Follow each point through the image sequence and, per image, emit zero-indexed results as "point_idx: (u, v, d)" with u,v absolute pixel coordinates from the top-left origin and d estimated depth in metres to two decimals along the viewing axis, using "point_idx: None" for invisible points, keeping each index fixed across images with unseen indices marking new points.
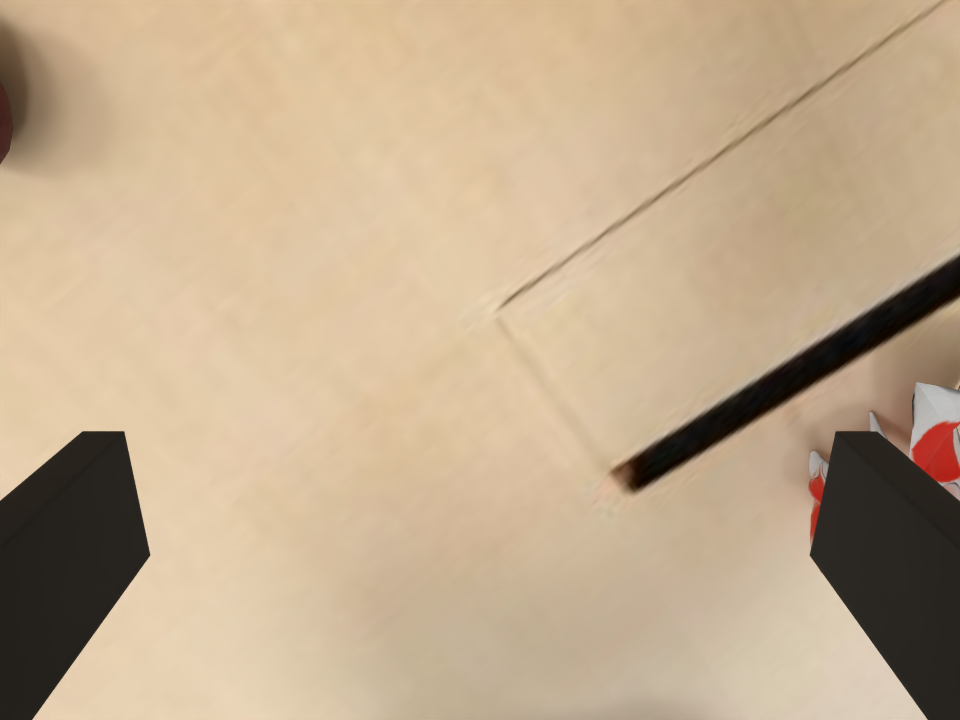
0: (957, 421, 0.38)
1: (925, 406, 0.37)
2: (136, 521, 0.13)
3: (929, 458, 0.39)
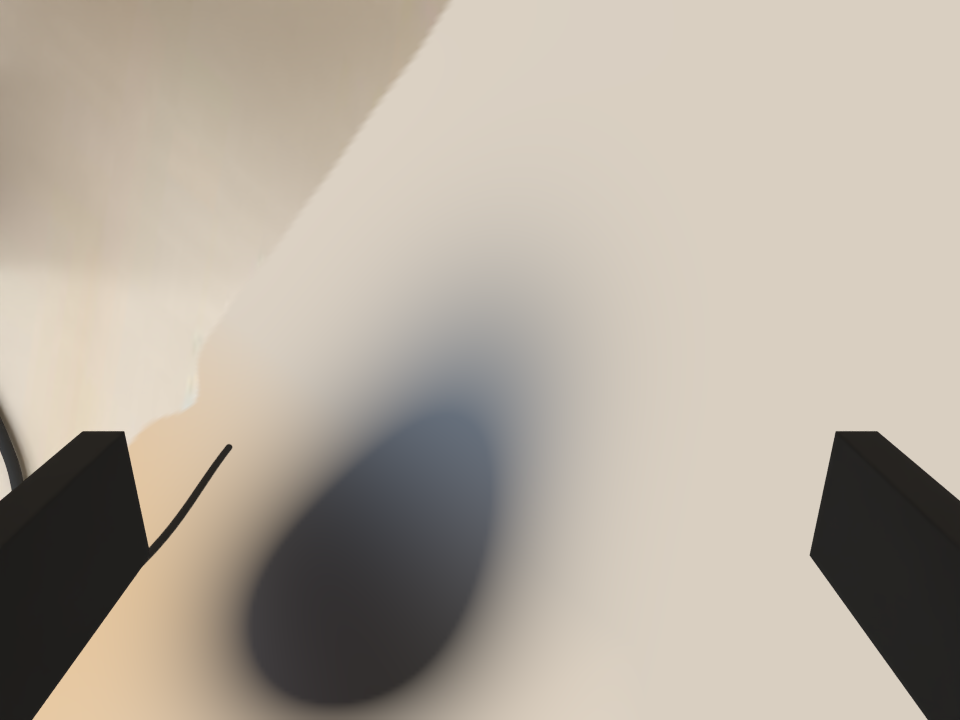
0: None
1: None
2: (136, 521, 0.13)
3: None
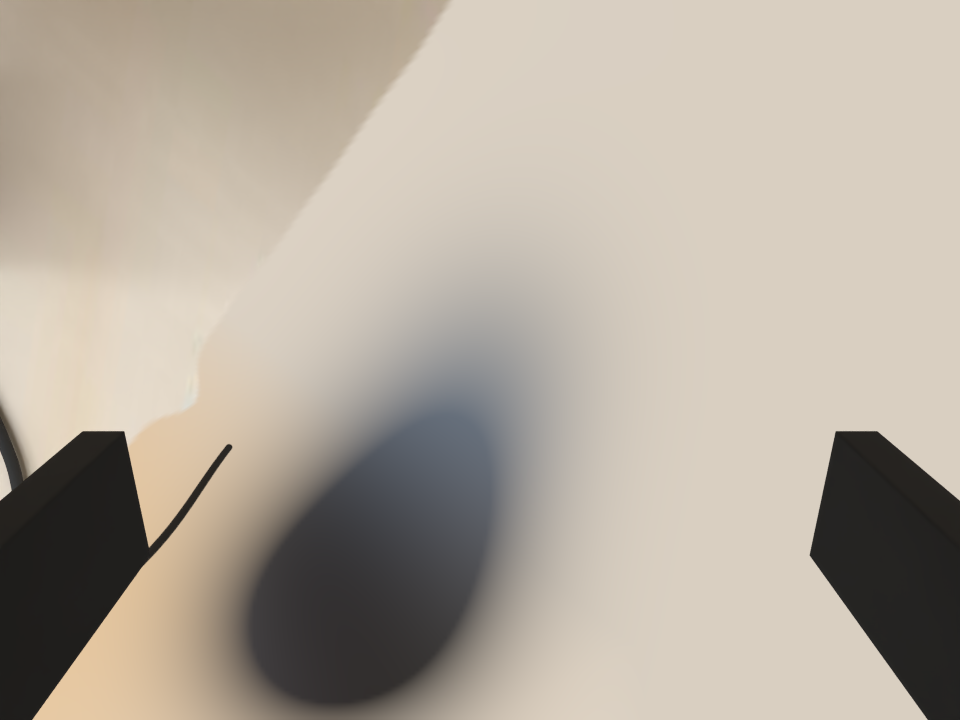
0: None
1: None
2: (136, 521, 0.13)
3: None
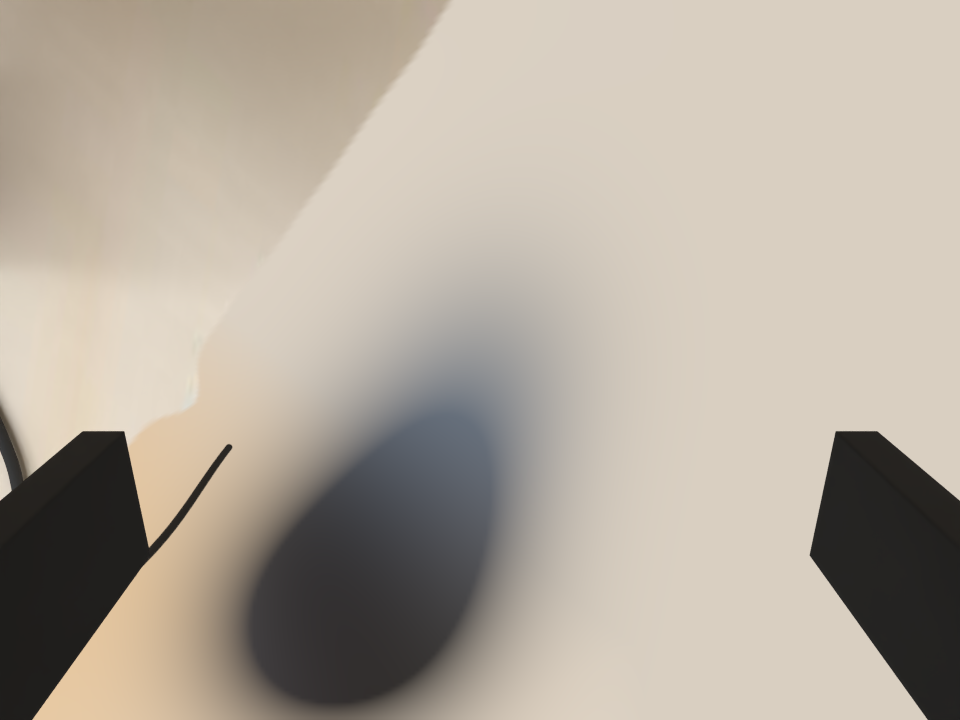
0: None
1: None
2: (136, 521, 0.13)
3: None
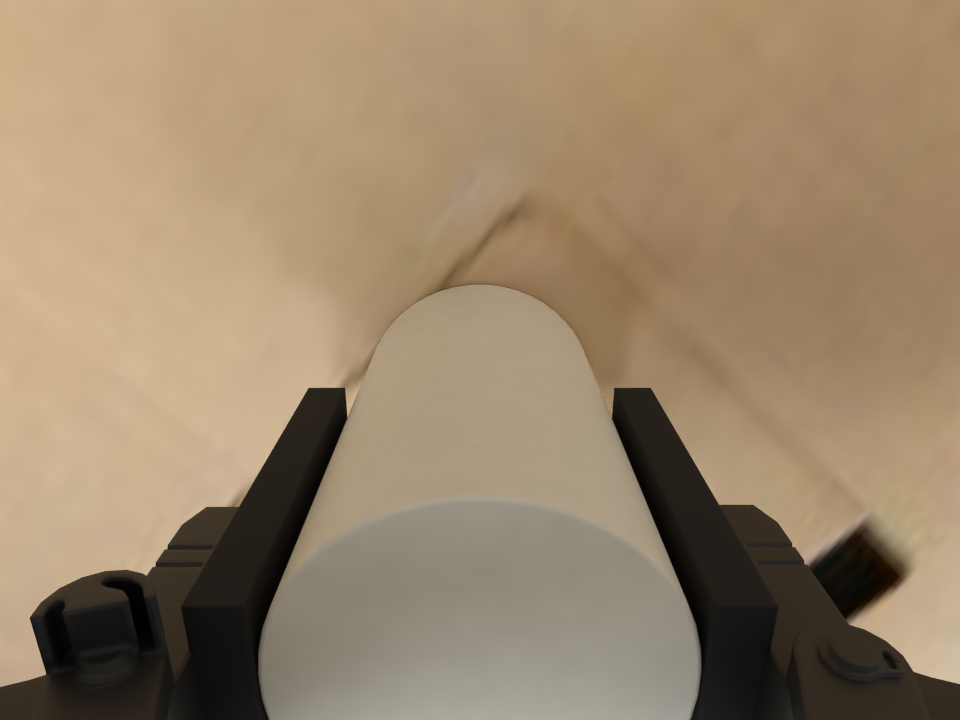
0: None
1: None
2: None
3: None
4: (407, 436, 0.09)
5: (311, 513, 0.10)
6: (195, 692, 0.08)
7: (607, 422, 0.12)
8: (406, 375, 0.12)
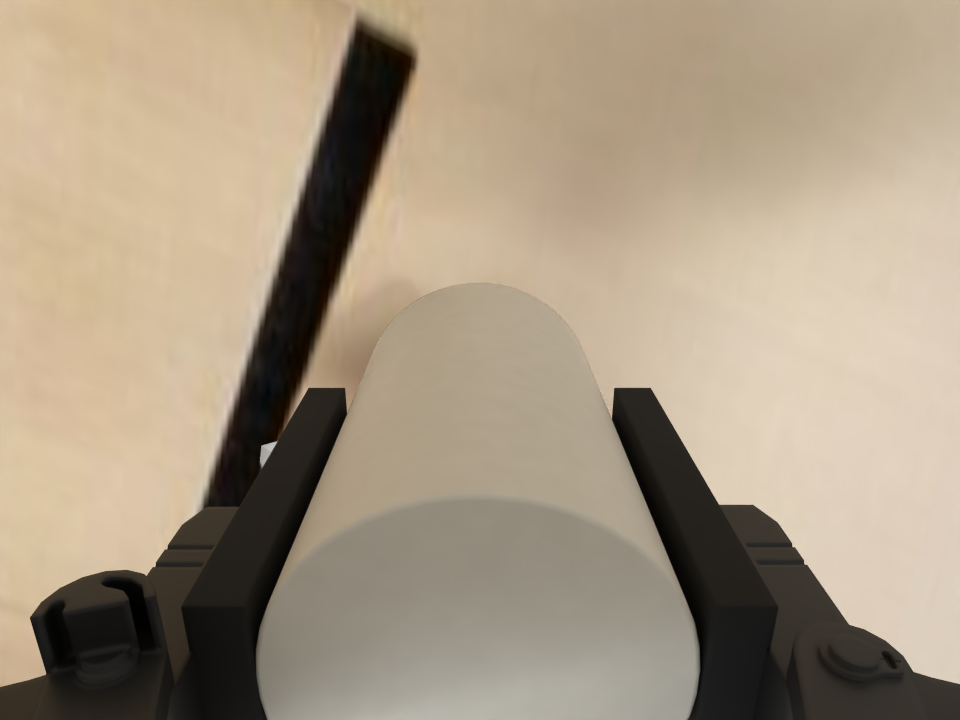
0: None
1: None
2: None
3: None
4: (405, 434, 0.09)
5: (309, 511, 0.09)
6: (195, 692, 0.08)
7: (606, 420, 0.12)
8: (404, 374, 0.12)
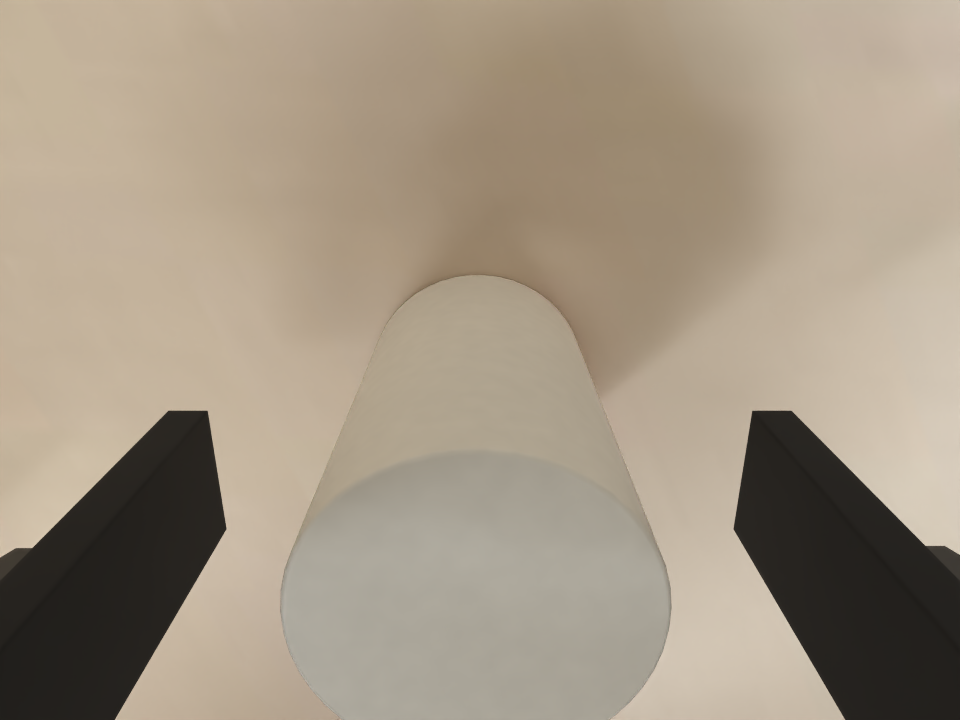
0: None
1: None
2: (216, 496, 0.14)
3: None
4: (412, 404, 0.10)
5: (326, 473, 0.11)
6: None
7: (593, 397, 0.13)
8: (410, 354, 0.13)
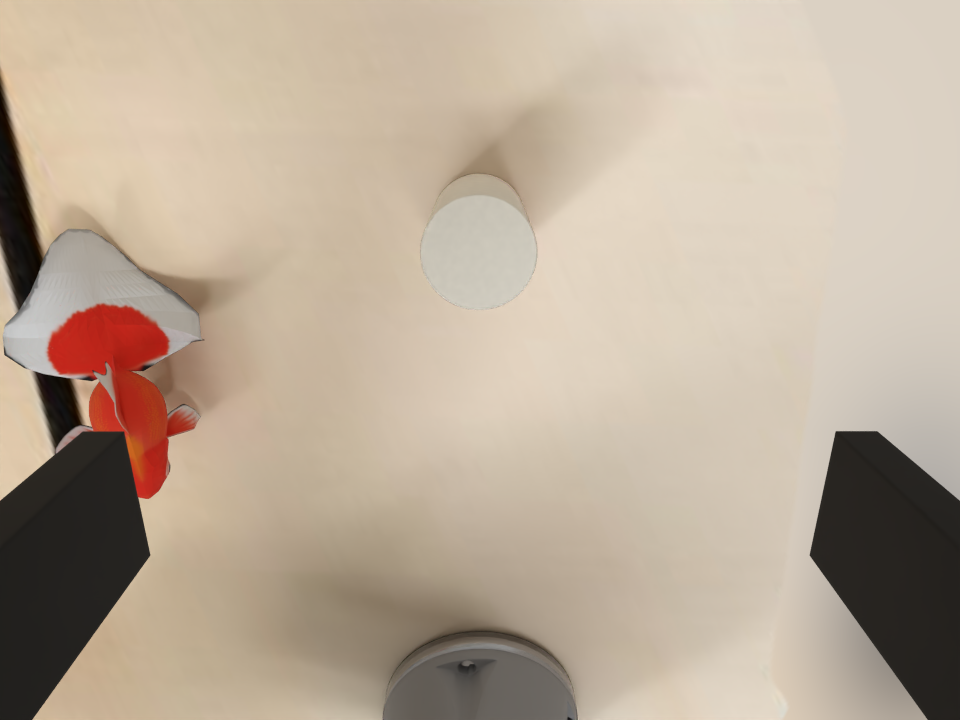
0: (64, 321, 0.38)
1: (20, 345, 0.38)
2: (136, 521, 0.13)
3: (106, 352, 0.39)
4: (458, 193, 0.33)
5: (430, 216, 0.33)
6: None
7: (520, 205, 0.36)
8: (454, 189, 0.36)
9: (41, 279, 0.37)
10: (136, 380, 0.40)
